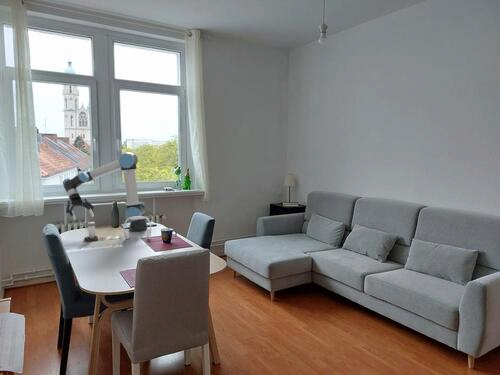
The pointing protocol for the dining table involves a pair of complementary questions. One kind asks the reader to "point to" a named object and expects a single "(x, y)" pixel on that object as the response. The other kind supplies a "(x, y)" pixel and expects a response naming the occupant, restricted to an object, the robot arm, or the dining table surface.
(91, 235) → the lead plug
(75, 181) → the robot arm
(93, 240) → the cable board
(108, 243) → the dining table surface
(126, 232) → the headset
